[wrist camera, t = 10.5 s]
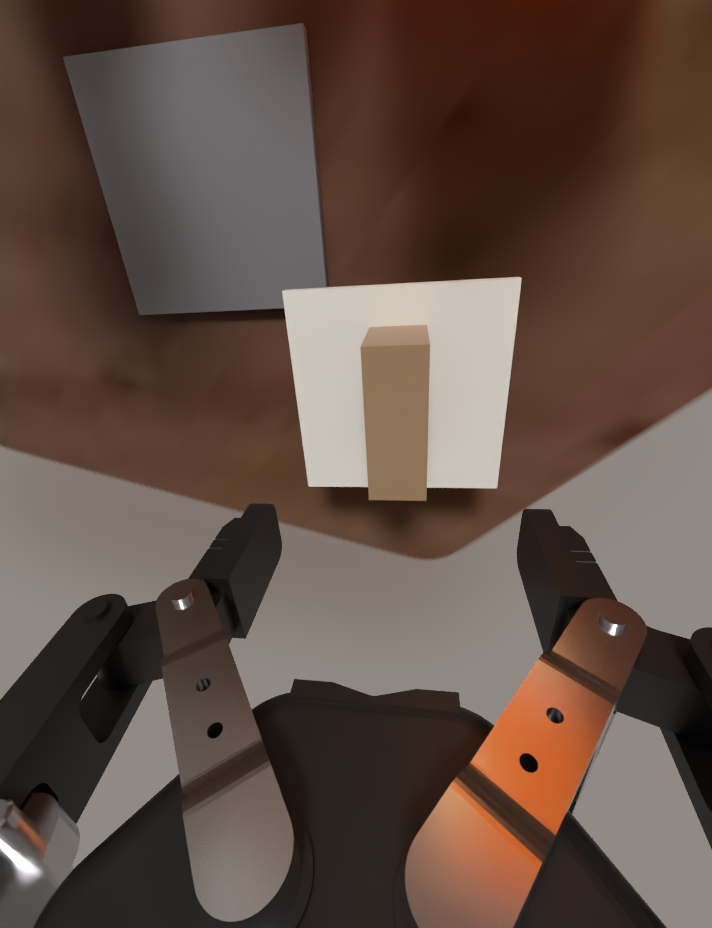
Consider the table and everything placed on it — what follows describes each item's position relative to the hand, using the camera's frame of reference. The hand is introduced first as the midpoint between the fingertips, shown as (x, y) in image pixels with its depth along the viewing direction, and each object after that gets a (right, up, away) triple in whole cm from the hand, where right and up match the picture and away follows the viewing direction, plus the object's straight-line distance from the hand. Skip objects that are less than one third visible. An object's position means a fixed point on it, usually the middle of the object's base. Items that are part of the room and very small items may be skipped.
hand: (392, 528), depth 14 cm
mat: (-10, +18, +11) cm, 23 cm away
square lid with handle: (+1, +6, +11) cm, 12 cm away
